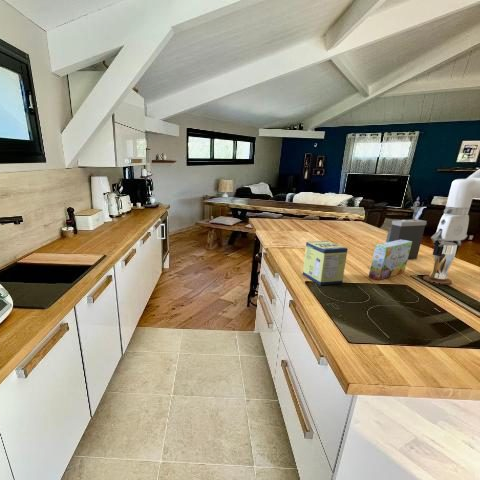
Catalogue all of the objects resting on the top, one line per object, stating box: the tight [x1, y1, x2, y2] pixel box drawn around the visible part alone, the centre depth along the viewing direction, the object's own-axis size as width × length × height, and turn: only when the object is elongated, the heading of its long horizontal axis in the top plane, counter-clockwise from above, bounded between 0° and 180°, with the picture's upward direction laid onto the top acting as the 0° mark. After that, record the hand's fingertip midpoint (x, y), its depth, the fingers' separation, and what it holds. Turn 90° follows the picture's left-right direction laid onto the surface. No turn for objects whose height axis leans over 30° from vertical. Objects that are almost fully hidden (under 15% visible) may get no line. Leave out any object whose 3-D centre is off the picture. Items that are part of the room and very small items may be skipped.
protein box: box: [302, 240, 348, 286], centre depth 136 cm, size 10×16×16 cm
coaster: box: [422, 275, 453, 286], centre depth 135 cm, size 10×10×1 cm
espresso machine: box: [385, 218, 428, 260], centre depth 166 cm, size 9×14×21 cm, turn 100°
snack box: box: [368, 240, 412, 281], centre depth 140 cm, size 21×6×15 cm, turn 122°
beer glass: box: [428, 241, 458, 280], centre depth 132 cm, size 7×7×15 cm
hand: (444, 254), depth 131 cm, fingers closed on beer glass, 7 cm apart
